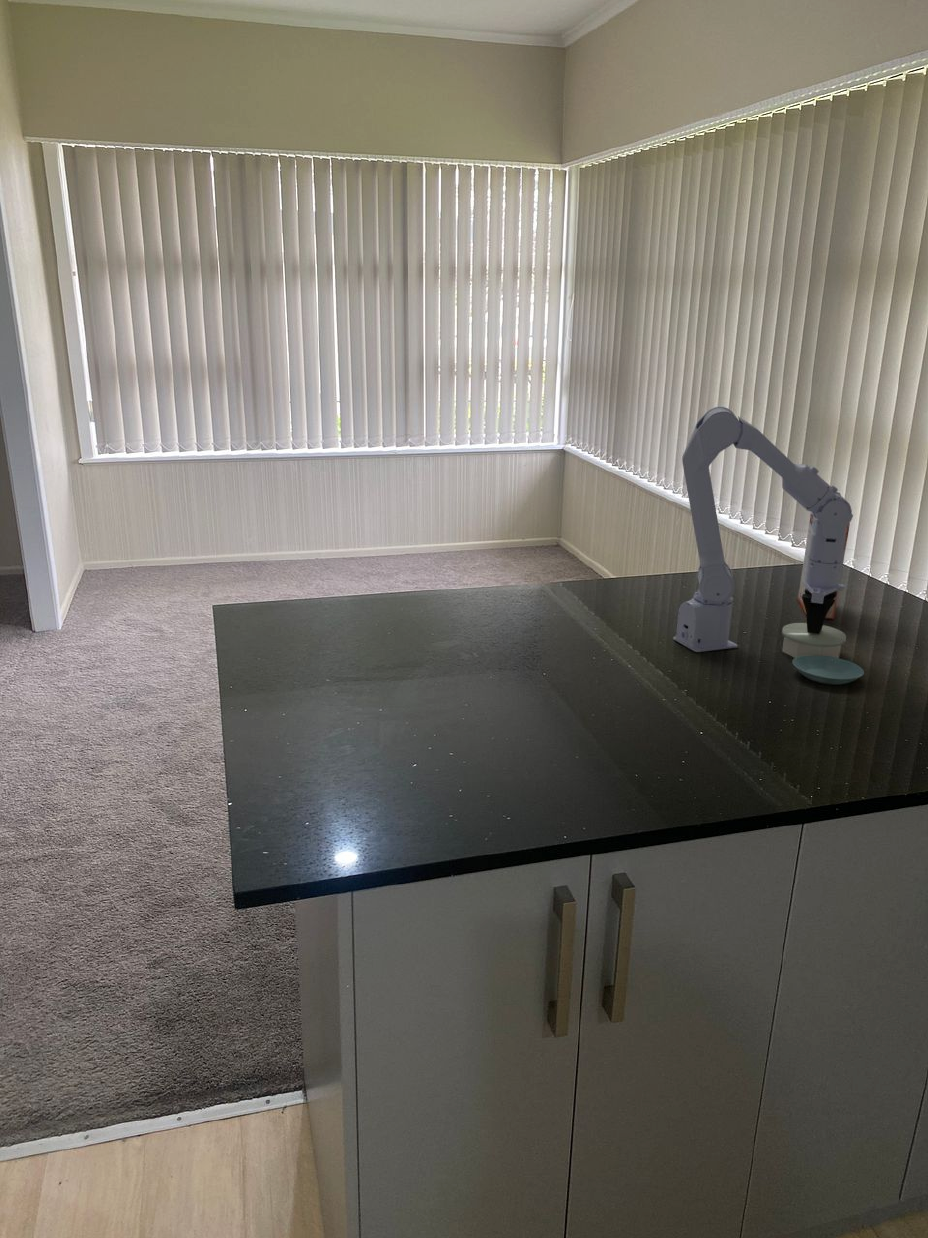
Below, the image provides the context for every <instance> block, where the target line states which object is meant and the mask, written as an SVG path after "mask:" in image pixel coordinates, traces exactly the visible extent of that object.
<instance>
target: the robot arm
mask: <svg viewBox="0 0 928 1238" xmlns="http://www.w3.org/2000/svg"><path fill="white" fill-rule="evenodd" d="M732 445H733V446H734V447H735V449H739V450H745V451H746V450H747V451H750V452H752V453H753V454H754V455H755V456H757V457H758V458H759V460H761V461H762V462H763V463H765V464H766V465H767V466H768V467H769V468H770V469H771V470H773V471H774V472H775V473H776V474H778V475H779V476H780V477H781V480H782V481H781V482H782V484H781V486H782V487H781V488H782V490H784V491H785V492H786V493H787V494H788V495H789V496H790V497H791V498H792V499H794V500H795V502H797V503H798V504H799V505H801V507H803V508H804V509H805V510H806V511H807V512H810V513H811V512H812V513H813V515H814V517H815V518H817V519H818V520H815V523H814V529H813V533H812V537H811V544H810V551H809V558H808V564H807V571H806V578H805V580H804V584H803V585H804V587H805V588H806V589H805V591H804V592H805V594H803V596H802V600H803V603H804V606H805V609H806V614H805V617H806V623H807V631H808V633H815V634H819V633H820V631H821V629H822V626H823V625H824V623H825V620H826V619H825V617H826V615H827V613H828V611H829V609H830V608H831V607H832V605H833V604H834V602H835V600H834V598H835V597H836V594H837V592H836V591H837V590H839V591H844V590H845V587H846V586H845V584H843V583H840V584H838V581H839V575H840V568H841V562H842V556H843V550H844V543H845V532H846V526H847V525H848V524H849V523H850V524H851V522H852V520H853V517H854V514H852V513H853V512H852V508H851V504H850V503H849V502H848V501H847V500H846V499H845V497H843V495H841V493H840V492H838V491H839V489H838V488H837V487H836V486H835V485H832V486H831V485H830V484H829V483H828V482H826V480H824V479H823V478H822V477H821V476H820V475H819V474H818V473H819V472H820V471H819V470H818V469H817V468H816V467H815V466H814V465H812V466H811V467H810V466H809V465H808V464H805V463H803V464H801V463H800V464H799V463H798V464H795V463H794V462H793V461H791V460H790V459H789V458H788V457H787V456H786V455H785V454H784V453H783V452H782V451H781V450H780V449H779V448H778V447H777V446H776V445H775V444H774V443H772V441H771V440H770V439H768V437H767V436H765V434H763V433H762V432H761V431H760V430H759V429H758V428H757V427H755V426H754V425H752V423H749V422H748V421H747V420H745V419H743V418H742V417H741V416H736V415H735V413H734V412H733V411H732V410H731V409H729V408H728V407H725V406H716V407H713V408H711V409H709V410H707V412H705V414H703V416H702V417H701V418H700V419H699V420H698V421H697V422H696V424H695V426H694V428H693V431H692V434H691V436H690V438H689V441H688V442H687V444H686V447H685V449H684V452H683V454H682V457H681V458H682V459H681V460H682V461H681V463H682V466H683V467H682V468H683V474H684V479H685V484H686V485H685V486H686V490H687V496H688V502H689V507H690V513H691V518H692V525H693V530H694V535H695V541H696V546H697V548H696V549H697V553H698V559H699V567H698V570H697V573H696V575H697V576H696V578H697V582H698V589H697V590H696V592H694V595H693V597H692V598H691V599H690V600H687V601H683V602H682V603H681V604H680V606H679V608H678V612H677V619H676V621H677V622H676V623H677V624H676V629H675V630H676V633H675V636H673V638H672V639H673V640H674V641H676V642H678V643H679V644H681V645H682V646H684V647H686V648H688V649H689V650H691V651H693V652H695V653H702V652H709V651H710V652H711V651H717V650H718V651H720V650H726V649H736V648H738V644H737V643H735V642H733V641H731V640H729V638H730V628H731V620H732V611H733V603H734V597H733V594H734V591H735V581H734V579H733V577H732V570H731V568H730V566H729V564H727V563H726V561H725V555H724V550H723V544H722V538H721V532H720V526H719V520H718V513H717V508H716V502H715V496H714V490H713V484H712V478H711V473H710V465H711V464H712V463H713V462H714V460H715V459H716V458H717V457H718V456H719V454H720V453H721V452H722V451H724V450H727V448H729V447H731V446H732Z"/></svg>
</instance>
